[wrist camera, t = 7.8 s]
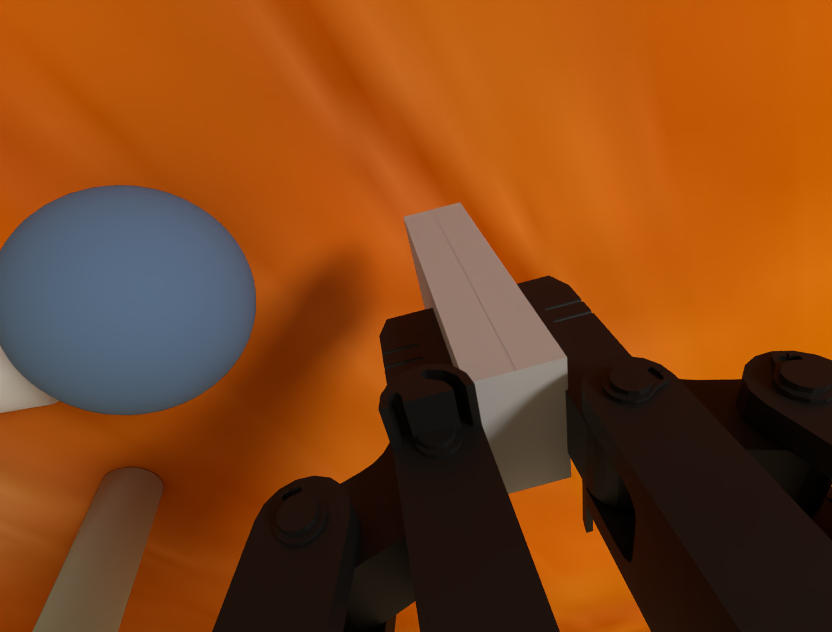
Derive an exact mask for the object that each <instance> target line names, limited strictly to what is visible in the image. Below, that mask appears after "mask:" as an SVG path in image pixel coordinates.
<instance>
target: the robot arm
mask: <svg viewBox="0 0 832 632" xmlns="http://www.w3.org/2000/svg"><path fill="white" fill-rule="evenodd" d="M404 221H405V226H406V230H407V234H408V239H409V243H410V247H411V251H412V256H413V260H414V264H415V269H416V273H417V277H418V282H419V286H420V290H421V294H422V299H423V303H424V306H425V310H421V311H418V312H414V313H410V314H406V315H402V316H398V317H395V318H391V319H387V320H386V322H385V325H384V327H383V329H382V331H381V334H380V336H379V337H380V343H381V349H382V354H383V362H384V367H385V375H386V381H387V386H386V388H385V389H384V391H383V392H382V394H381V395H380V402H379V412H380V415H381V418H382V421H383V423H384V426H385V429H386V432H387V435H388V438H389V441H390V443H389V445H388V446H387V448H386V450H385V451H384V453H383V454H382V455H381V456H380V457H379V458H378V459H377V460H376V461H375V462H374V463H373V464H372V465H370V466H369V467H368V468H366V469H365V470H363V471H362V472H360V473H358V474H357V475H355V476H353V477H351V478H350V479H348V480H346V481H345V482H343V483H341V484H339V483H338V482H336V481H335V480H333V479H331V478H329V477H321V476H311V477H306V478H302V479H298V480H295V481H293V482H292V483H290V484H288V485H286V486H284V487H283V488H281V489H279V490H278V491H277V492H276V493H275V494H274V495H273V496H272V497H271V498H270V499H269V500H268V501H267V502H266V503H265V504H264V505H263V507H262V509H261V511H260V512H259V514H258V516H257V518H256V519H255V521H254V524H253V526H252V529H251V532H250V534H249V537H248V539H247V542H246V545H245V547H244V550H243V553H242V555H241V558H240V560H239V563H238V566H237V568H236V571H235V573H234V576H233V579H232V581H231V584H230V587H229V589H228V592H227V594H226V597H225V600H224V602H223V605H222V608H221V610H220V613H219V615H218V618H217V621H216V623H215V626H214V629H213V631H212V632H394V630H395V621H396V614H397V613H399V612H400V611H402V610H403V609H404V608H406V607H407V606H409V605H410V604H412V603H413V602H414V601H416V607H417V614H418V620H419V627H420V632H560V631H559V628H558V626H557V623H556V620H555V618H554V615H553V612H552V610H551V607H550V604H549V602H548V599H547V596H546V594H545V591H544V588H543V586H542V583H541V580H540V578H539V575H538V572H537V570H536V567H535V565H534V562H533V559H532V557H531V554H530V551H529V549H528V546H527V543H526V541H525V538H524V535H523V533H522V530H521V527H520V525H519V522H518V519H517V517H516V514H515V511H514V509H513V506H512V503H511V501H510V498H509V495H508V494H509V493H513V492H517V491H520V490H524V489H528V488H532V487H535V486H539V485H543V484H547V483H550V482H554V481H558V480H561V479H565V478H569V477H571V462H570V457H571V459H572V461H573V463H574V465H575V467H576V468H577V470H578V472H579V474H580V476H581V478H582V483H583V522H584V526H585V529H586V533H587V532H590V531H593V520H594V522H595V524H596V526H597V528H598V530H599V532H600V534H601V536H602V537H603V539H604V541H605V543H606V545H607V547H608V549H609V551H610V553H611V555H612V557H613V559H614V561H615V563H616V564H617V566H618V568H619V570H620V572H621V574H622V576H623V578H624V580H625V582H626V584H627V586H628V588H629V590H630V591H631V593H632V595H633V597H634V599H635V601H636V603H637V605H638V607H639V609H640V611H641V613H642V615H643V617H644V618H645V620H646V622H647V624H648V626H649V628H650V630H651V632H832V487H831V485H832V360H829V359H826V358H824V357H821V356H818V355H815V354H809V353H803V352H798V351H771V352H768V353H765V354H761V355H758V356H755V357H754V358H753V359H752V360H750V361H749V362H748V363H747V364H746V365H745V367H744V371H743V376H742V379H736V380H685V379H678V378H677V377H676V376H675V375H674V374H673V373H672V372H670V371H669V370H668V369H666V368H665V367H663V366H662V365H661V364H658V363H655V362H653V361H650V360H647V359H644V358H638V357H632V356H631V355H630V354H629V353H628V352H627V351H626V349H625V348H624V347H623V346H622V345H621V344H620V343H619V342H618V340H617V339H616V338H615V337H614V336H613V335H612V334H611V332H610V331H609V330H608V329H607V328H606V327H605V326H604V324H603V323H602V322H601V321H600V320H599V319H598V318H597V317H596V315H595V314H594V313H591V310H590V309H589V307H588V306H587V305H586V304H585V303H584V302H582V301H581V298H580V297H579V296H578V295H577V294H576V293H575V292H574V290H573V289H572V288H571V287H570V286H569V285H568V284H566V283H563V282H561V281H559V280H557V279H555V278H553V277H551V276H545V277H542V278H538V279H534V280H530V281H526V282H522V283H519V284H516V283H515V281H514V280H513V278H512V277H511V275H510V274H509V273H508V271H507V270H506V268H505V267H504V265H503V264H502V262H501V261H500V260H499V258H498V257H497V255H496V254H495V252H494V251H493V249H492V248H491V247H490V245H489V244H488V242H487V241H486V239H485V238H484V236H483V235H482V233H481V232H480V231H479V229H478V228H477V226H476V225H475V223H474V222H473V220H472V219H471V218H470V216H469V215H468V213H467V212H466V210H465V209H464V207H463V206H462V205H461V203H456V204H452V205H448V206H444V207H440V208H436V209H432V210H429V211H425V212H421V213H417V214H413V215H409V216H405V217H404Z"/></svg>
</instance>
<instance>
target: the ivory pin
mask: <svg viewBox="0 0 832 632" xmlns="http://www.w3.org/2000/svg"><path fill="white" fill-rule="evenodd" d="M57 402H59V400H57V399H55V398H53V397H51V396H49V395H47V394H46V393H44V392H43V391H41V390H39V389H38V388H37V387H35V386H34V385H33V384H31V383H30V382H29V381H28V380H27V379H26V378H25V377H23V376H22V375H21V374H20V372H19V371H18V370H17V369H16V368H15V367H14V366H13V364H12V363H11V362H10V361H9V359H8V358H7V356H6V354H5V353H4V351H3V349H2V348H1V346H0V413H3V412H9V411H15V410H21V409H27V408H33V407H39V406H45V405H51V404H55V403H57Z"/></svg>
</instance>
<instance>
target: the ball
mask: <svg viewBox="0 0 832 632" xmlns="http://www.w3.org/2000/svg"><path fill="white" fill-rule="evenodd" d="M255 312H256V291H255V285H254V279H253V276H252V273H251V269H250V267H249V264H248V262H247V260H246V258H245V255H244V253H243V252H242V250H241V248H240V247H239V245H238V243H237V242H236V241H235V239H234V238H233V237H232V235H231V234H230V233H229V232H228V231H227V230H226V229H225V228H224V227H223V225H222V224H221V223H219V222H218V221H217V220H216V219H215V218H213V217H212V216H211V215H210V214H208V213H207V212H205V211H204V210H202V209H201V208H199V207H198V206H196V205H194V204H192V203H190V202H188V201H187V200H185V199H182V198H180V197H178V196H175V195H173V194H170V193H167V192H163V191H160V190H156V189H151V188H145V187H138V186H126V185H114V186H102V187H93V188H89V189H85V190H81V191H78V192H74V193H70V194H67V195H65V196H63V197H61V198H59V199H56V200H54V201H52V202H50V203H48V204H46V205H44V206H43V207H41V208H40V209H39V210H37V211H36V212H34V213H33V214H32V215H30V216H29V217H28V218H27V219H25V220H24V221H23V222H22V223H21V224H20V225H19V226H18V227H17V228H16V229H15V231H14V232H13V233H12V234H11V235H10V237H9V238H8V239H7V241H6V242H5V244H4V246H3V247H2V249H1V251H0V346H1V348H2V349H3V351H4V353H5V354H6V356H7V358H8V359H9V361H10V362H11V363H12V364H13V366H14V367H15V368H16V369H17V370H18V371H19V372H20V374H21V375H22V376H23V377H25V378H26V379H27V380H28V381H29V382H30V383H31V384H33V385H34V386H35V387H37V388H38V389H39V390H41V391H43V392H44V393H46V394H47V395H49V396H51V397H53V398H55V399H57V400H59V401H61V402H63V403H66V404H68V405H71V406H74V407H77V408H80V409H84V410H87V411H92V412H96V413H102V414H113V415H137V414H145V413H152V412H157V411H162V410H165V409H168V408H171V407H174V406H177V405H180V404H183V403H185V402H187V401H189V400H191V399H193V398H195V397H197V396H199V395H200V394H202V393H204V392H205V391H206V390H208V389H209V388H211V387H212V386H213V385H215V384H216V383H217V382H218V381H219V380H220V379H221V378H223V377H224V376H225V375H226V374H227V373H228V372H229V370H230V369H231V368H232V367H233V365H234V364H235V363H236V361H237V360H238V359H239V357H240V356H241V354H242V352H243V350H244V348H245V346H246V344H247V342H248V340H249V338H250V334H251V331H252V328H253V324H254V319H255Z"/></svg>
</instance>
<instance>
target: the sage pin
mask: <svg viewBox="0 0 832 632" xmlns="http://www.w3.org/2000/svg"><path fill="white" fill-rule="evenodd" d="M163 489H164V486H163V483H162V481H161V479H160V478H159V477H158V476H157V475H155V474H154V473H152V472H150V471H148V470H145V469H140V468H132V467H128V468H120V469H116V470H113V471H111V472H109V473H108V474H106V475H105V476H104V477H103V479H102V481H101V483H100V485H99V488H98V490H97V492H96V494H95V496H94V498H93V501H92V503H91V505H90V507H89V509H88V512H87V514H86V516H85V518H84V520H83V522H82V525H81V527H80V529H79V531H78V533H77V536H76V538H75V540H74V542H73V544H72V546H71V549H70V551H69V553H68V555H67V557H66V560H65V562H64V564H63V566H62V568H61V571H60V573H59V575H58V577H57V579H56V581H55V584H54V586H53V588H52V590H51V592H50V595H49V597H48V599H47V601H46V603H45V605H44V608H43V610H42V612H41V614H40V616H39V619H38V621H37V623H36V625H35V627H34V629H33V632H118V630H119V627H120V624H121V621H122V617H123V614H124V611H125V608H126V605H127V602H128V599H129V596H130V592H131V589H132V586H133V583H134V580H135V577H136V574H137V571H138V568H139V564H140V561H141V558H142V555H143V552H144V549H145V546H146V543H147V539H148V536H149V533H150V530H151V527H152V524H153V521H154V518H155V514H156V511H157V508H158V505H159V502H160V499H161V496H162V493H163Z"/></svg>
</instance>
